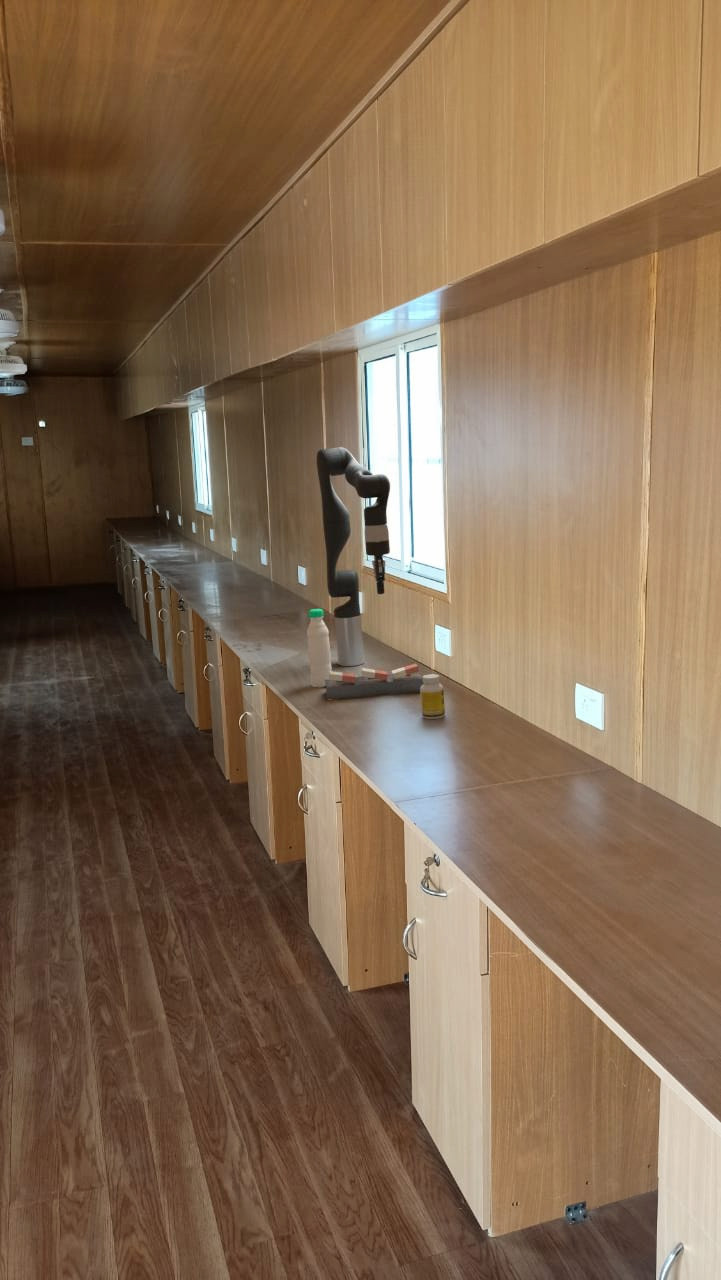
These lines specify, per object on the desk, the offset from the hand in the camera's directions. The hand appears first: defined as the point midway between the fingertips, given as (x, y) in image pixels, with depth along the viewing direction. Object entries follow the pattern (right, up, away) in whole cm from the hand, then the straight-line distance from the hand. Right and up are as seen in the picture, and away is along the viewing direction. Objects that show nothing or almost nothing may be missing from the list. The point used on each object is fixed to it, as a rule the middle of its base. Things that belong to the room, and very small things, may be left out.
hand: (380, 593), depth 312 cm
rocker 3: (+8, -25, -7) cm, 27 cm away
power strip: (-2, -31, -5) cm, 31 cm away
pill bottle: (+14, -36, -37) cm, 54 cm away
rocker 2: (-2, -26, -8) cm, 27 cm away
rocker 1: (-12, -27, -8) cm, 31 cm away
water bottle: (-19, -30, +9) cm, 36 cm away
